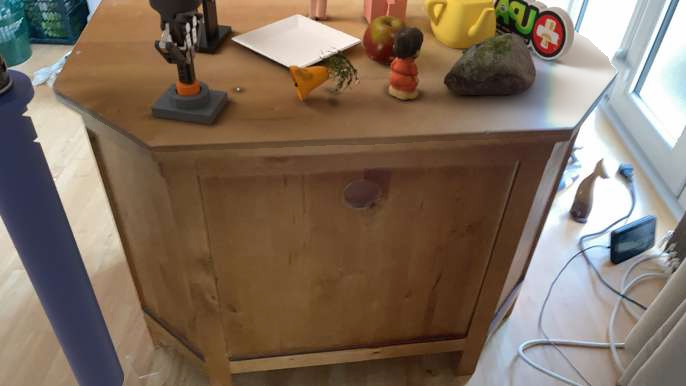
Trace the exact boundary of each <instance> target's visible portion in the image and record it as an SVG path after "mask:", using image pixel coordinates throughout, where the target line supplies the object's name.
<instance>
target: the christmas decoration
mask: <svg viewBox="0 0 686 386" xmlns="http://www.w3.org/2000/svg"><path fill="white" fill-rule="evenodd" d="M334 49H335V48H334ZM336 50H337V49H336ZM321 52H322V51H321ZM327 52H330V51H327ZM332 53H336V52H332ZM332 53H331V54H332ZM331 54H329V56H330V55H331ZM324 56H325V55H324ZM320 58H321V56H320ZM321 59H323V61H325V62H326V61H327V62H328V63H323V62H322V63H321V62H320V65H313V66H309V67H307V68H300V67H298V66H289V68H288V69H289V73H290V77H291V80H292V83H293V85H294V88H295V91H296V94H297V95H298V97H299V99H300V101H303V100H305V99H306V98H308V96H309V94H310V93H311V92H312V91H313V90H315V89H317V88H319V87H320V86H322V85H323V84H324V83H326V82H327V81H329V80H331V82H335V81H336V82H338V83H337V84H336V85H334V86H333V87H332V88H331V89H329V92H333V91H335V92H338V91H339V93H341V90H342V92H344V91H345V90H346V89H348V88H349V89H350V90H352V87H349V86H351V83H352V82H353V78H354V80H356V81H357V82H358V84H359V85H360V84H361V82H360V81H359V78H358V77H357V76H358V75H357V74H359V72H358V69H357V68H355V67H354V64H352V62H351V61H350V59H348V58H347V56H346V55H345V54H344V53H343V52H340V50H338V53H337V54H335V55H334V56H333V55H331V56H330V57H329V58H325V59H324V58H321ZM344 59H345V60H344ZM330 75H331V76H330ZM336 78H337V79H336ZM346 80H347V82H346ZM345 82H346V83H345ZM344 83H345V88H344V89H343V86H344ZM240 90H241V89H240V88H239V87H237V88H236V91H238V92H239V91H240ZM336 94H337V93H335V94H334V96H336Z"/></svg>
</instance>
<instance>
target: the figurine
mask: <svg viewBox="0 0 686 386" xmlns="http://www.w3.org/2000/svg"><path fill="white" fill-rule="evenodd" d="M423 42H424V33H423V31H422V30H421V29H420V28H418V27H412V26H407V27H404V28H402V29H400V30H399V31H398V33H397V34H396V36H395V38H394V45H393V53H394V54H395V55H396V56H397V57H396V58H395V60H394V61H393V62H392V63H390V69H391V70H390V72H389V84H390V85H389V86H388V94H389V95H391V96H392V97H395V98H396V99H400V100H402V101H405V100H413V99H415V98H417V97H418V96H419V95H420V92H419V90H418V89H416V88H417V87H418V85H419V83H420V79H419V77H418V74H420V73H419V70H418V65H417V63H416V61H415V60H416V59H418V58H419V56H420V53H421V49H422V46H423Z"/></svg>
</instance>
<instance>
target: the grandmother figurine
mask: <svg viewBox="0 0 686 386" xmlns="http://www.w3.org/2000/svg"><path fill="white" fill-rule="evenodd" d="M308 6H309V7H308V14H309V15H308V16H307V18H309V19H311V20H314V21H316V20H317V18H318V20H319V21H326V20H328V17H327V15H326V14H327V9H328V8H327V7H328V0H309V5H308Z"/></svg>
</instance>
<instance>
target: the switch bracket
mask: <svg viewBox="0 0 686 386" xmlns="http://www.w3.org/2000/svg"><path fill="white" fill-rule="evenodd" d="M201 7H202V14H203V23H202V30H201V37H200V44H199V49H198V51H195V53H200V54H201V53H202V54H210V55H213V54H214V53H215V52H216V51H217V50H218V49H219V48H220V46H221V45H222V44H223V43H224V41H225V40H226V39H227V38H228V37H229V36H230V35H231V34H232V32H233V28H232V25H223V24H219V21H218V10H217V1H216V0H202V4H201ZM195 12H196V13H199V8H197V9H196V10H195Z"/></svg>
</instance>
